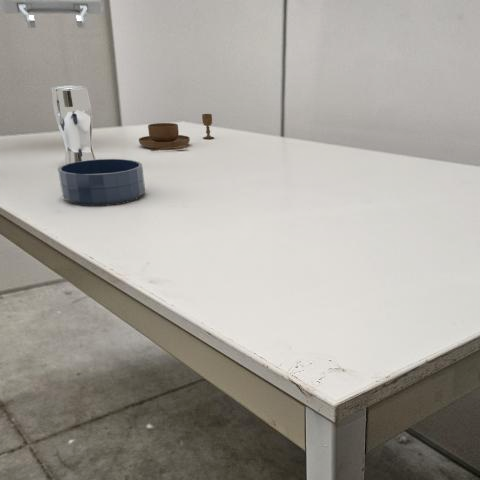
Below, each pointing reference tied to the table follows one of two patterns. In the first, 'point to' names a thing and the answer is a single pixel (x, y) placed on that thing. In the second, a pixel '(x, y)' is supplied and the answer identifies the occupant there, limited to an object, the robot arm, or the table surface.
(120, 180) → the bowl
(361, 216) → the table surface
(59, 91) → the beer glass
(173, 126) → the place setting
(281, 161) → the table surface
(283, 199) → the table surface
